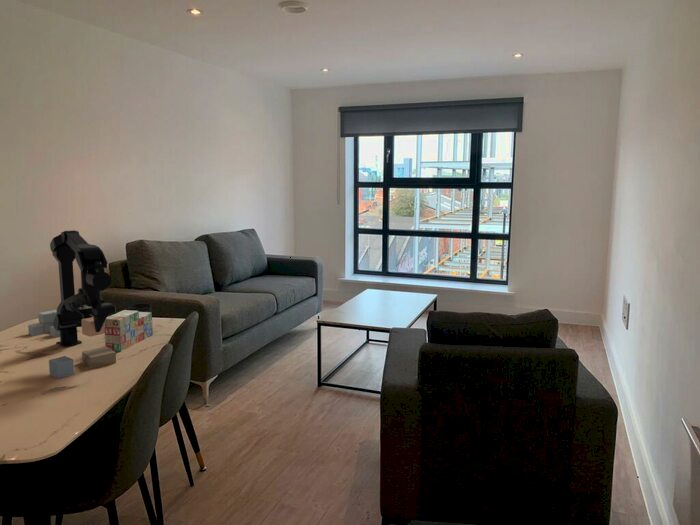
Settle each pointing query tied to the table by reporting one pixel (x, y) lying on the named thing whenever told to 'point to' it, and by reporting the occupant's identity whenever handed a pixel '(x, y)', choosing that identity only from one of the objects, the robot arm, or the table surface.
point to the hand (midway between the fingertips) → (93, 330)
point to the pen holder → (140, 307)
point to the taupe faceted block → (99, 357)
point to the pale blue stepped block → (44, 324)
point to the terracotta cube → (90, 327)
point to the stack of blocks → (127, 329)
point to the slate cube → (61, 367)
